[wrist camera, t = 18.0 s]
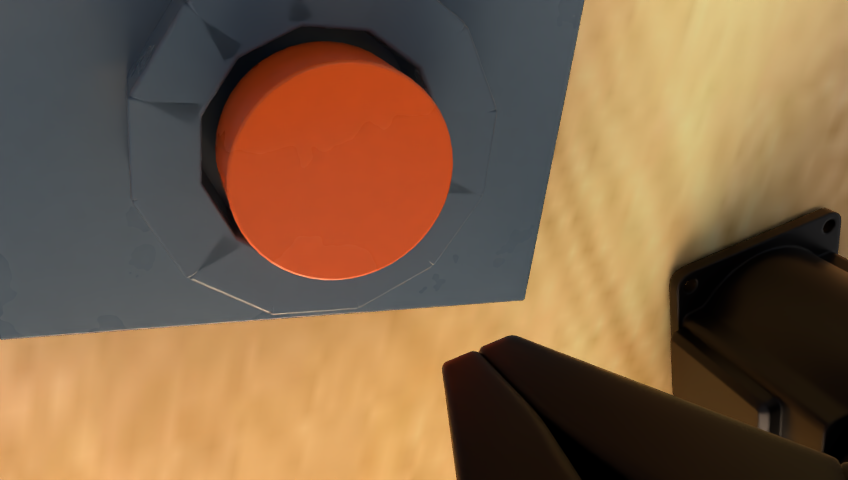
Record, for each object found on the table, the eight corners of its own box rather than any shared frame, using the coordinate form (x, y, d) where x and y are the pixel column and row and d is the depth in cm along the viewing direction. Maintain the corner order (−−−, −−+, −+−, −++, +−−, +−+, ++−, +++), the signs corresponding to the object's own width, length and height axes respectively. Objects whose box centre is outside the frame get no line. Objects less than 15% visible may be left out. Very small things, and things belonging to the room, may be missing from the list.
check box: (554, -75, 17) (646, -67, 14) (493, 268, 20) (555, 332, 18) (-42, -163, 13) (-93, -178, 10) (10, 296, 16) (-15, 387, 13)
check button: (432, 48, 14) (469, 66, 12) (408, 238, 15) (439, 275, 14) (216, 32, 12) (228, 52, 11) (213, 245, 14) (225, 288, 12)
